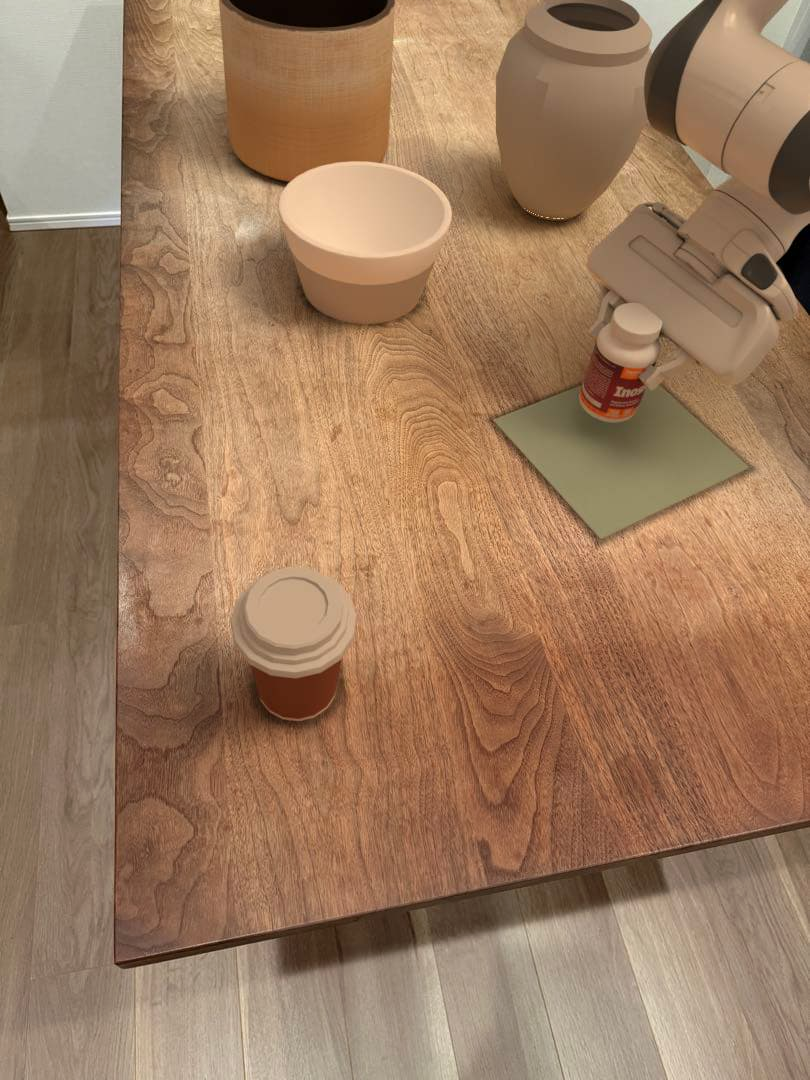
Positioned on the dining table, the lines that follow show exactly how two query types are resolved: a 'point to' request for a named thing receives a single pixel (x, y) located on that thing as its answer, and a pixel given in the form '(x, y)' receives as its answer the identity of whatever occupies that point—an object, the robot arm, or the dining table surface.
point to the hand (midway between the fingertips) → (618, 361)
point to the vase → (571, 102)
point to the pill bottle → (620, 363)
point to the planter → (307, 82)
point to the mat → (620, 456)
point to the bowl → (364, 237)
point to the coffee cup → (294, 638)
